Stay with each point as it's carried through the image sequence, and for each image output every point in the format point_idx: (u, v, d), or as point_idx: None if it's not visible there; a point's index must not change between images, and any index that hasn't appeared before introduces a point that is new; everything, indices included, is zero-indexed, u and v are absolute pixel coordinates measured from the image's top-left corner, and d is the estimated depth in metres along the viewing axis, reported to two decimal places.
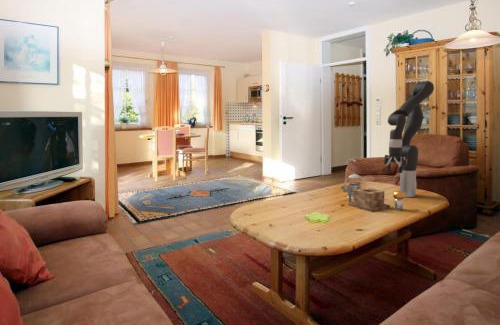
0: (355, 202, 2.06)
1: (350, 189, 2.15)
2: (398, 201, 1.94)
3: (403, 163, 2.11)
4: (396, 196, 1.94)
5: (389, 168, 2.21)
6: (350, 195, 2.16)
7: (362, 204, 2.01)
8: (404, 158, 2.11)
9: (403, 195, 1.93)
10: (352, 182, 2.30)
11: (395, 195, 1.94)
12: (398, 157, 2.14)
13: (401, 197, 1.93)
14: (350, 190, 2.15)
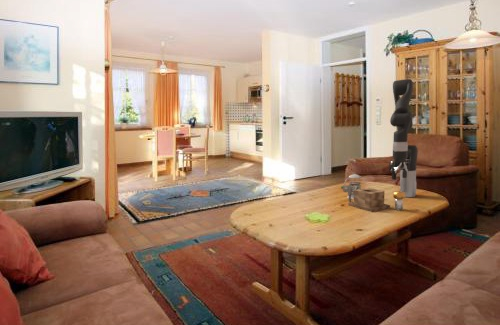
0: (355, 202, 2.06)
1: (350, 189, 2.15)
2: (398, 201, 1.94)
3: None
4: (396, 196, 1.94)
5: None
6: (350, 195, 2.16)
7: (362, 204, 2.01)
8: None
9: (403, 195, 1.93)
10: (352, 182, 2.30)
11: (395, 195, 1.94)
12: (405, 161, 1.94)
13: (401, 197, 1.93)
14: (350, 190, 2.15)
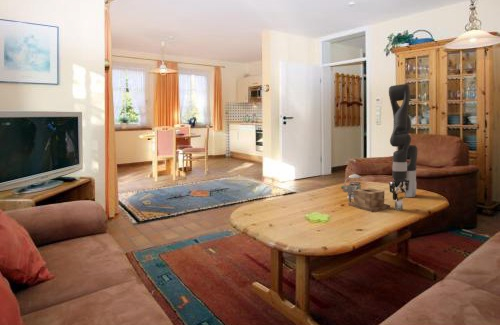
0: (355, 202, 2.06)
1: (350, 189, 2.15)
2: (398, 201, 1.94)
3: None
4: None
5: None
6: (350, 195, 2.16)
7: (362, 204, 2.01)
8: None
9: (403, 195, 1.93)
10: (352, 182, 2.30)
11: None
12: (405, 181, 1.95)
13: (401, 197, 1.93)
14: (350, 190, 2.15)
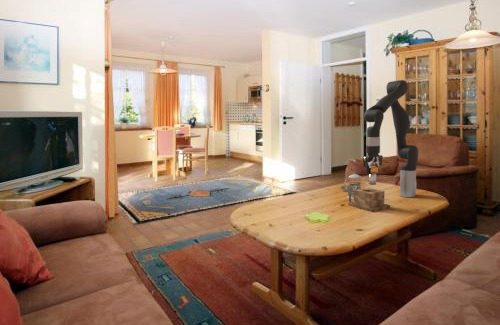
0: (355, 202, 2.06)
1: (350, 189, 2.15)
2: (372, 176, 1.99)
3: (381, 162, 2.02)
4: None
5: None
6: (350, 195, 2.16)
7: (362, 204, 2.01)
8: None
9: (376, 170, 1.98)
10: (352, 182, 2.30)
11: None
12: (378, 156, 2.00)
13: (374, 171, 1.98)
14: (350, 190, 2.15)
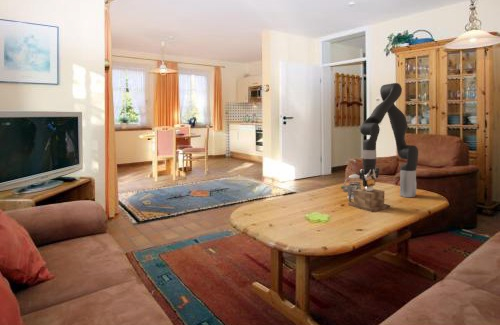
0: (355, 202, 2.06)
1: (350, 189, 2.15)
2: (368, 188, 2.02)
3: None
4: None
5: None
6: (350, 195, 2.16)
7: (362, 204, 2.01)
8: None
9: (372, 182, 2.00)
10: (352, 182, 2.30)
11: None
12: (374, 169, 2.03)
13: (370, 184, 2.00)
14: (350, 190, 2.15)
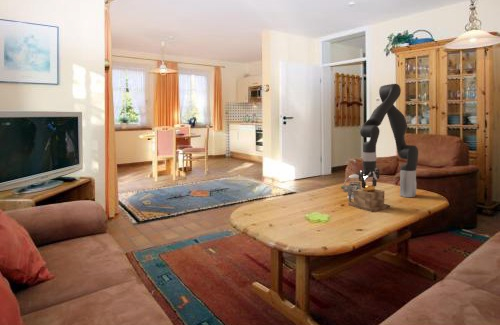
0: (355, 202, 2.06)
1: (350, 189, 2.15)
2: None
3: (378, 175, 2.05)
4: (366, 189, 2.02)
5: None
6: (350, 195, 2.16)
7: (362, 204, 2.01)
8: None
9: (373, 188, 2.01)
10: (352, 182, 2.30)
11: (365, 188, 2.02)
12: (374, 170, 2.03)
13: (371, 190, 2.01)
14: (350, 190, 2.15)
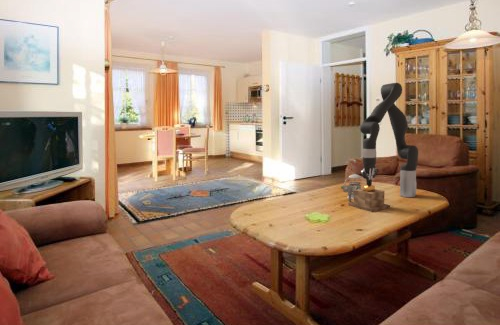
0: (355, 202, 2.06)
1: (350, 189, 2.15)
2: None
3: (375, 175, 2.03)
4: (366, 189, 2.02)
5: None
6: (350, 195, 2.16)
7: (362, 204, 2.01)
8: None
9: (373, 188, 2.01)
10: (352, 182, 2.30)
11: (365, 188, 2.02)
12: (374, 169, 2.03)
13: (371, 190, 2.01)
14: (350, 190, 2.15)
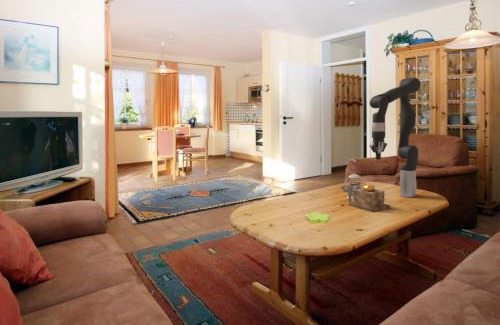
0: (355, 202, 2.06)
1: (350, 189, 2.15)
2: None
3: (384, 149, 2.08)
4: (366, 189, 2.02)
5: None
6: (350, 195, 2.16)
7: (362, 204, 2.01)
8: None
9: (373, 188, 2.01)
10: (352, 182, 2.30)
11: (365, 188, 2.02)
12: (383, 143, 2.07)
13: (371, 190, 2.01)
14: (350, 190, 2.15)
